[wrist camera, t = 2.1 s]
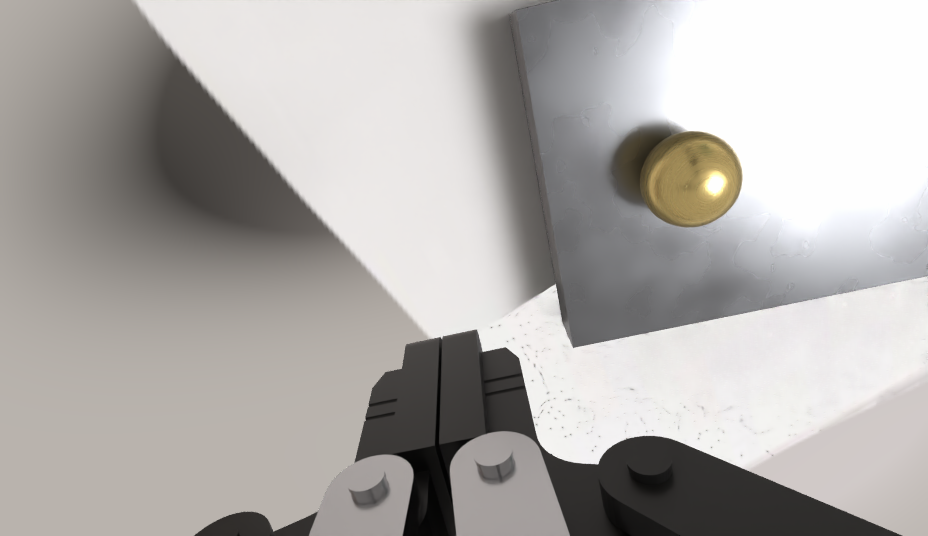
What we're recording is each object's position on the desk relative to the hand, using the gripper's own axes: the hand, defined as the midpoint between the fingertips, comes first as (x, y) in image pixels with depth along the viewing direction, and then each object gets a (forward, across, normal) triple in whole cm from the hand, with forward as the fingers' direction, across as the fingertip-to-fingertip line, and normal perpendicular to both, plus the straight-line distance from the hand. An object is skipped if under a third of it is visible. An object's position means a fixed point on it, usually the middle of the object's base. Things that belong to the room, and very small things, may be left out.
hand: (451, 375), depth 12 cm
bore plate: (+14, -16, 0) cm, 21 cm away
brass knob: (+10, -9, 0) cm, 13 cm away
